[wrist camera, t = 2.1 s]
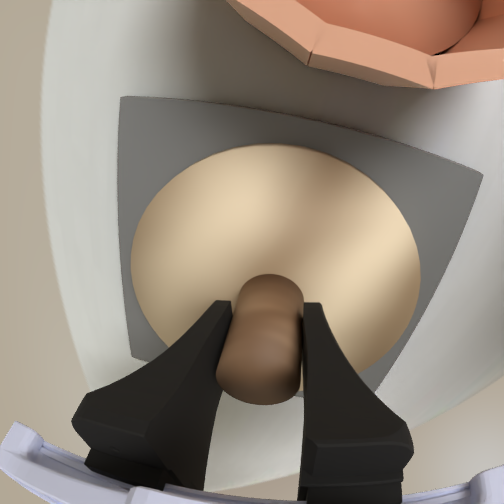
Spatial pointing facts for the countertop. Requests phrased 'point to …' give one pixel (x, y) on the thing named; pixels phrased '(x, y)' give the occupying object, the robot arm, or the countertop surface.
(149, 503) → the robot arm
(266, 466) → the countertop surface
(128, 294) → the mat
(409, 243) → the lid
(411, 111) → the countertop surface
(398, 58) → the bowl
